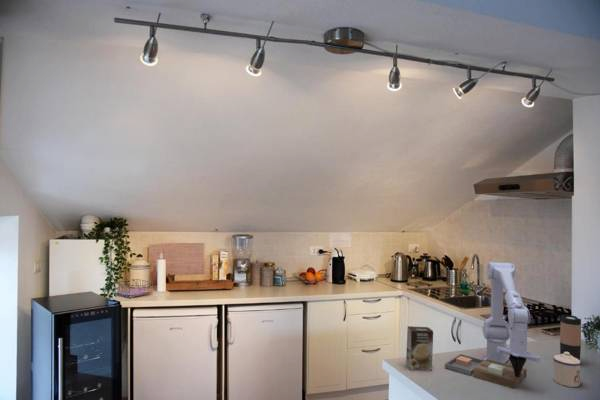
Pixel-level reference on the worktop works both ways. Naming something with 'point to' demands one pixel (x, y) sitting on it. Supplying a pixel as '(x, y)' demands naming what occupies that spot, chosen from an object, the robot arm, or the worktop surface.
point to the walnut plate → (504, 380)
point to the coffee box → (419, 348)
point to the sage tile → (496, 369)
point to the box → (460, 368)
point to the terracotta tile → (464, 361)
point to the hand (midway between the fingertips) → (517, 376)
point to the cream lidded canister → (566, 370)
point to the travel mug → (570, 335)
